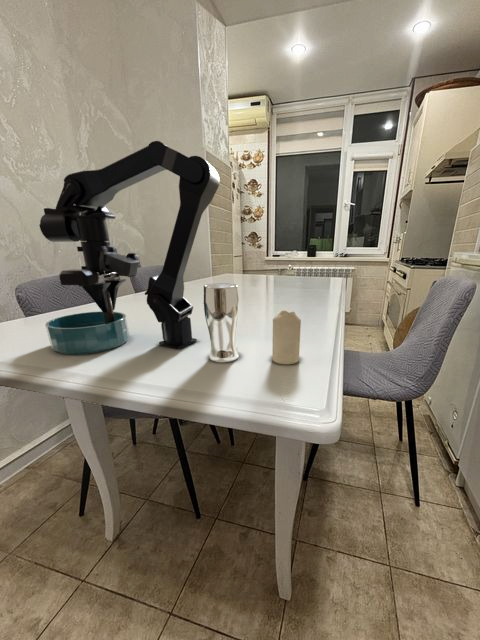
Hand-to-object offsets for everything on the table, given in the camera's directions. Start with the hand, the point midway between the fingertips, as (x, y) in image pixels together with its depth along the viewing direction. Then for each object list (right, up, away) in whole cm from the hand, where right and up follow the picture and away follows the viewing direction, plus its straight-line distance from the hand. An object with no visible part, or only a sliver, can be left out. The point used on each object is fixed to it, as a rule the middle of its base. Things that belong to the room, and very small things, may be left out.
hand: (108, 311), depth 69 cm
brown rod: (0, -6, +2) cm, 7 cm away
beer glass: (+29, -11, -8) cm, 32 cm away
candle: (+42, -11, -9) cm, 44 cm away
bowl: (-4, -8, +1) cm, 9 cm away
